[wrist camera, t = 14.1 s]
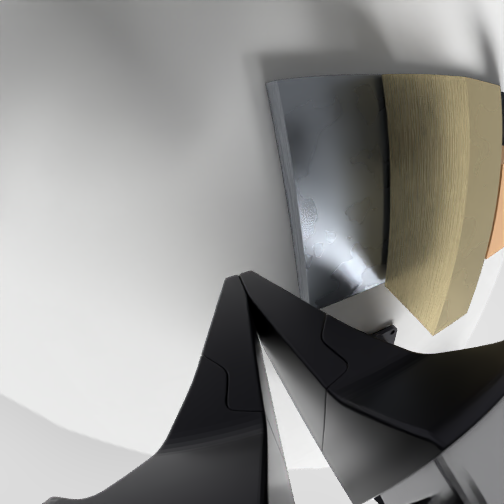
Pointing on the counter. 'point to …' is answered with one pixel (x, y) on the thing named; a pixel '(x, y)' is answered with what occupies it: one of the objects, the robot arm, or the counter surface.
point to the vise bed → (336, 180)
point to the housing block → (498, 217)
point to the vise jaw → (440, 190)
